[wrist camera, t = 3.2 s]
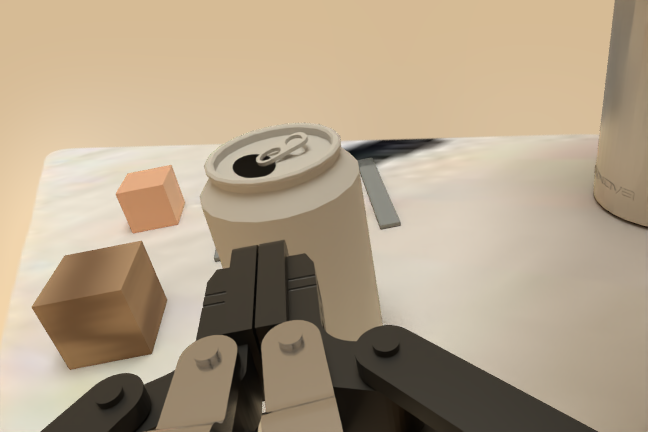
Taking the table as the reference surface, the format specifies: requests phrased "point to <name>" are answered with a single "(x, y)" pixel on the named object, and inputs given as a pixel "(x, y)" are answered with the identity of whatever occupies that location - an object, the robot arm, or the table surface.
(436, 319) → the table surface
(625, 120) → the robot arm
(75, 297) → the walnut block
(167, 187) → the clay block
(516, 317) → the table surface
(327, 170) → the can
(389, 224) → the frame
